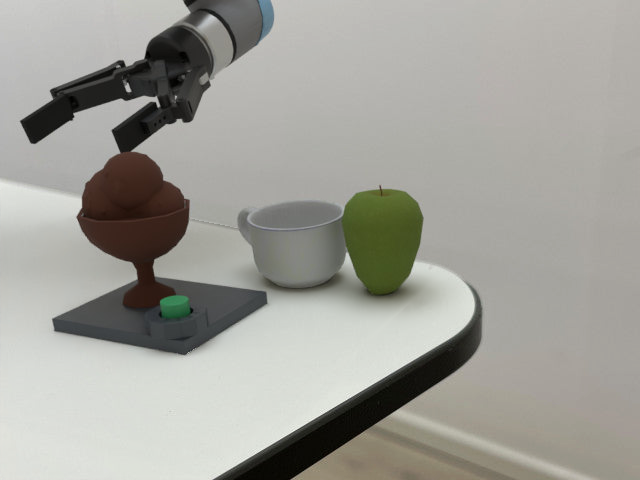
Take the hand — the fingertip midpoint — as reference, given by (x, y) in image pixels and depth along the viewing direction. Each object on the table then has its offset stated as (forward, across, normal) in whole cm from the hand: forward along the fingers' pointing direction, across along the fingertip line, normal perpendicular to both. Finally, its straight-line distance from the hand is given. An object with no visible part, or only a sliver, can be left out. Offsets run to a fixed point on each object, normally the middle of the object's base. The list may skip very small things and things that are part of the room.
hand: (71, 137), depth 82 cm
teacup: (-5, -20, -18) cm, 28 cm away
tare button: (+13, -21, -9) cm, 26 cm away
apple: (-5, -32, -18) cm, 37 cm away
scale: (+10, -15, -13) cm, 23 cm away
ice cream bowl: (+9, -13, -13) cm, 20 cm away
